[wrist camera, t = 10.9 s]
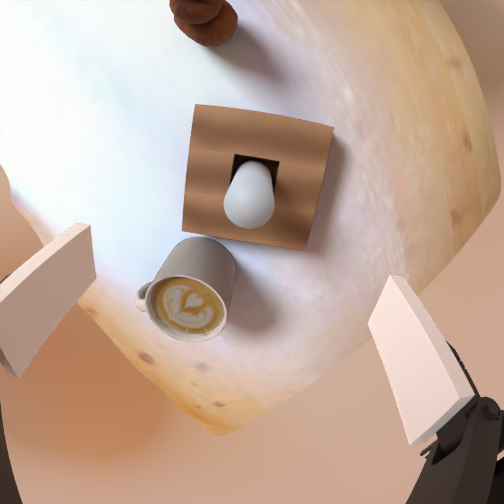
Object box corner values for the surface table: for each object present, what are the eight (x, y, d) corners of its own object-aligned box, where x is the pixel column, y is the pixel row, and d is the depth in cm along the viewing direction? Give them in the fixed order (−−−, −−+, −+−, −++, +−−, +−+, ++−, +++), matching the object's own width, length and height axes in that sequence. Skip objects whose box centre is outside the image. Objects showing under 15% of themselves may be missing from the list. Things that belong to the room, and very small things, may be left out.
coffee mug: (234, 236, 38) (223, 275, 29) (237, 297, 42) (230, 344, 33) (142, 237, 38) (110, 272, 29) (154, 294, 43) (132, 336, 34)
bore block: (203, 106, 30) (195, 104, 26) (326, 126, 30) (334, 127, 27) (189, 219, 37) (181, 231, 33) (301, 238, 37) (304, 251, 34)
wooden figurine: (249, 30, 25) (238, -26, 12) (214, 60, 27) (179, 20, 14) (211, 2, 23) (179, -57, 10) (178, 31, 25) (126, -14, 12)
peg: (239, 155, 32) (227, 176, 21) (273, 161, 32) (279, 185, 21) (234, 187, 33) (220, 224, 23) (267, 193, 34) (269, 232, 23)
